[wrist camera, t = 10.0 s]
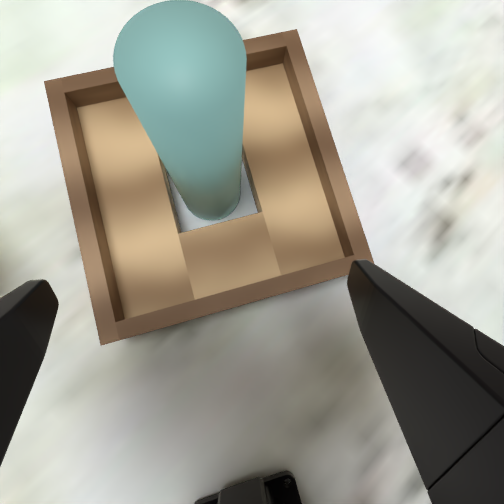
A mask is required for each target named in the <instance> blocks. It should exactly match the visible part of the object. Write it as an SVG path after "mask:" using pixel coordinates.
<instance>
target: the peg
mask: <svg viewBox="0 0 504 504" xmlns="http://www.w3.org/2000/svg"><path fill="white" fill-rule="evenodd" d="M113 62H114V70H115V74H116V77H117V80H118V82H119V84H120V86H121V88H122V89H123V91H124V93H125V95H126V97H127V99H128V100H129V102H130V104H131V106H132V108H133V109H134V111H135V113H136V115H137V117H138V119H139V120H140V122H141V124H142V126H143V128H144V130H145V131H146V133H147V135H148V137H149V139H150V140H151V142H152V144H153V146H154V148H155V150H156V151H157V153H158V155H159V157H160V159H161V161H162V162H163V164H164V166H165V168H166V170H167V171H168V173H169V175H170V177H171V179H172V181H173V182H174V184H175V186H176V188H177V190H178V192H179V193H180V195H181V197H182V199H183V201H184V202H185V204H186V206H187V208H188V209H189V210H190V211H191V213H193V214H194V215H195V216H197V217H199V218H201V219H204V220H219V219H222V218H224V217H226V216H228V215H229V214H230V213H232V212H233V210H234V209H235V208H236V206H237V204H238V202H239V198H240V182H241V163H242V143H243V123H244V103H245V83H246V62H247V58H246V50H245V46H244V43H243V40H242V38H241V36H240V34H239V32H238V30H237V29H236V28H235V26H234V25H233V24H232V23H231V22H230V21H229V19H228V18H226V17H225V16H224V15H223V14H221V13H220V12H218V11H217V10H215V9H213V8H211V7H209V6H207V5H204V4H201V3H198V2H194V1H188V0H170V1H164V2H160V3H156V4H154V5H151V6H149V7H147V8H145V9H143V10H141V11H140V12H138V13H137V14H136V15H134V16H133V17H132V18H131V19H130V20H129V21H128V22H127V23H126V25H125V26H124V27H123V29H122V30H121V32H120V34H119V36H118V38H117V41H116V44H115V48H114V55H113Z"/></svg>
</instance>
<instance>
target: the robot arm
mask: <svg viewBox="0 0 504 504" xmlns="http://www.w3.org/2000/svg"><path fill="white" fill-rule="evenodd" d="M347 286H348V290H349V293H350V297H351V300H352V304H353V307H354V311H355V314H356V318H357V321H358V325H359V328H360V331H361V334H362V336H363V339H364V341H365V343H366V346H367V348H368V351H369V353H370V355H371V358H372V360H373V363H374V365H375V367H376V370H377V372H378V375H379V377H380V379H381V382H382V384H383V387H384V389H385V391H386V394H387V396H388V399H389V401H390V403H391V406H392V408H393V411H394V413H395V415H396V418H397V420H398V423H399V425H400V427H401V430H402V432H403V434H404V437H405V439H406V442H407V444H408V446H409V449H410V451H411V454H412V456H413V458H414V461H415V463H416V466H417V468H418V470H419V473H420V475H421V478H422V480H423V482H424V485H425V487H426V489H427V490H428V495H429V497H430V500H431V502H432V504H504V346H503V345H501V344H500V343H498V342H496V341H495V340H493V339H491V338H490V337H488V336H487V335H485V334H484V333H482V332H480V331H479V330H477V329H474V328H473V327H472V326H471V325H469V324H468V323H466V322H465V321H463V320H461V319H460V318H458V317H457V316H455V315H454V314H452V313H450V312H449V311H447V310H446V309H444V308H443V307H441V306H439V305H438V304H436V303H435V302H433V301H432V300H430V299H428V298H427V297H425V296H424V295H422V294H421V293H419V292H417V291H416V290H414V289H413V288H411V287H410V286H408V285H406V284H405V283H403V282H402V281H400V280H399V279H397V278H395V277H394V276H392V275H391V274H389V273H388V272H386V271H384V270H383V269H381V268H380V267H378V266H377V265H375V264H373V263H372V262H370V261H369V260H366V259H360V260H354V261H353V262H352V263H351V267H350V271H349V275H348V280H347ZM58 305H59V304H58V299H57V297H56V295H55V293H54V292H53V290H52V288H51V286H50V284H49V283H48V282H47V281H46V280H43V279H42V280H30V281H27V282H26V283H24V284H23V285H21V286H19V287H18V288H16V289H15V290H13V291H12V292H10V293H8V294H7V295H5V296H4V297H2V298H0V466H1V464H2V461H3V459H4V456H5V454H6V451H7V449H8V446H9V444H10V441H11V439H12V436H13V434H14V431H15V429H16V426H17V424H18V421H19V419H20V416H21V414H22V411H23V409H24V406H25V404H26V401H27V399H28V396H29V394H30V391H31V389H32V387H33V384H34V382H35V379H36V377H37V374H38V372H39V369H40V367H41V364H42V361H43V359H44V356H45V353H46V350H47V347H48V343H49V339H50V336H51V332H52V328H53V325H54V321H55V318H56V314H57V310H58ZM286 479H290V480H291V481H290V483H288V484H285V483H283V482H284V480H286ZM195 504H302V503H301V499H300V496H299V492H298V489H297V485H296V481H295V478H294V476H293V474H292V473H291V472H289V471H283V472H280V473H278V474H275V475H272V476H269V477H266V478H263V479H261V478H255V479H252V480H249V481H246V482H243V483H240V484H238V485H235V486H232V487H229V488H226V489H223V490H221V491H220V493H219V494H216V495H213V496H210V497H207V498H204V499H202V500H199V501H197V502H195Z"/></svg>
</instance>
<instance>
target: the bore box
mask: <svg viewBox="0 0 504 504" xmlns="http://www.w3.org/2000/svg"><path fill="white" fill-rule="evenodd" d="M243 43H244V46H245V50H246V58H247V62H246V83H245V103H244V123H243V143H242V159H243V162H244V166H245V169H246V173H247V176H248V180H249V183H250V187H251V190H252V193H253V197H254V200H255V204H256V207H257V211H258V213H256V214H252V215H248V216H244V217H241V218H237V219H233V220H229V221H225V222H221V223H217V224H214V225H210V226H206V227H202V228H198V229H194V230H191V231H187V232H183V233H182V232H181V229H180V225H179V221H178V217H177V213H176V209H175V205H174V201H173V197H172V194H171V190H170V186H169V182H168V178H167V174H166V170H165V166H164V164H163V162H162V161H161V159H160V157H159V155H158V153H157V151H156V150H155V148H154V146H153V144H152V142H151V140H150V139H149V137H148V135H147V133H146V131H145V130H144V128H143V126H142V124H141V122H140V120H139V119H138V117H137V115H136V113H135V111H134V109H133V108H132V106H131V104H130V102H129V100H128V99H127V97H126V95H125V93H124V91H123V89H122V88H121V86H120V84H119V82H118V80H117V77H116V74H115V70H114V67H111V68H106V69H101V70H96V71H92V72H87V73H82V74H77V75H72V76H67V77H63V78H58V79H53V80H48V81H44V84H45V88H46V93H47V98H48V102H49V107H50V112H51V116H52V121H53V126H54V130H55V135H56V139H57V144H58V149H59V153H60V158H61V163H62V167H63V172H64V177H65V181H66V186H67V191H68V195H69V200H70V205H71V209H72V214H73V219H74V223H75V228H76V233H77V237H78V242H79V247H80V251H81V256H82V261H83V265H84V270H85V274H86V279H87V284H88V288H89V293H90V298H91V302H92V307H93V312H94V316H95V321H96V326H97V330H98V335H99V340H100V344H101V345H105V344H108V343H112V342H115V341H119V340H122V339H126V338H129V337H133V336H136V335H140V334H143V333H147V332H150V331H153V330H157V329H160V328H164V327H167V326H171V325H174V324H178V323H181V322H185V321H188V320H192V319H195V318H199V317H202V316H206V315H209V314H213V313H216V312H220V311H223V310H227V309H230V308H234V307H237V306H241V305H244V304H248V303H251V302H255V301H258V300H261V299H265V298H268V297H272V296H275V295H279V294H282V293H286V292H289V291H293V290H296V289H300V288H303V287H307V286H310V285H314V284H317V283H321V282H324V281H328V280H331V279H335V278H338V277H342V276H345V275H349V271H350V267H351V263H352V262H353V261H354V260H360V259H366V260H369V261H370V262H372V263H373V264H374V261H373V258H372V255H371V252H370V249H369V246H368V243H367V240H366V237H365V234H364V231H363V228H362V225H361V222H360V219H359V216H358V213H357V210H356V207H355V204H354V201H353V198H352V195H351V192H350V189H349V186H348V183H347V180H346V177H345V174H344V171H343V168H342V165H341V162H340V159H339V156H338V152H337V149H336V146H335V143H334V140H333V137H332V134H331V131H330V128H329V125H328V122H327V119H326V116H325V113H324V110H323V107H322V104H321V101H320V98H319V95H318V92H317V89H316V86H315V83H314V80H313V77H312V74H311V71H310V68H309V65H308V62H307V59H306V56H305V53H304V50H303V47H302V44H301V41H300V37H299V34H298V31H297V29H295V30H290V31H286V32H281V33H276V34H271V35H266V36H261V37H256V38H252V39H247V40H243Z"/></svg>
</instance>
